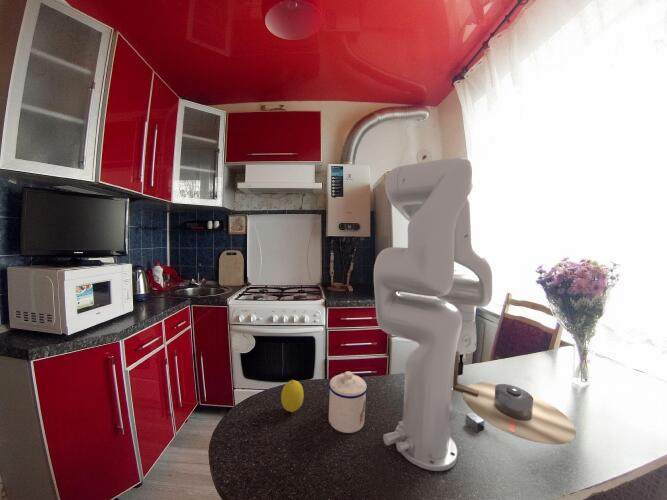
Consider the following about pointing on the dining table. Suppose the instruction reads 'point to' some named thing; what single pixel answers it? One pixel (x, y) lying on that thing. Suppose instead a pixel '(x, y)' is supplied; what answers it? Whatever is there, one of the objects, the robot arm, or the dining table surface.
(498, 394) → the cover
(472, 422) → the speckled grey block
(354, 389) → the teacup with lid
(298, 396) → the lemon
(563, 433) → the turntable
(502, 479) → the dining table surface
